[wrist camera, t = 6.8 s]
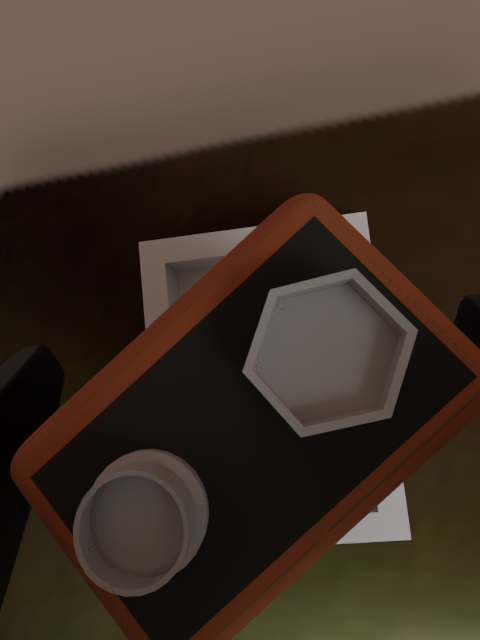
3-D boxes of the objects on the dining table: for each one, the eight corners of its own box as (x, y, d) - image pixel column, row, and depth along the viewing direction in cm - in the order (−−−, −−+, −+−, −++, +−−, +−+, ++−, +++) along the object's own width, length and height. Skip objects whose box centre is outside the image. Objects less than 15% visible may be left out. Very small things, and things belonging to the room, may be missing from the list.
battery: (374, 370, 14) (580, 387, 4) (238, 494, 14) (139, 787, 4) (292, 285, 15) (312, 135, 5) (162, 404, 15) (-68, 485, 5)
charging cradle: (404, 521, 16) (428, 553, 14) (170, 536, 17) (151, 568, 15) (363, 220, 17) (377, 197, 15) (147, 248, 18) (125, 231, 16)
